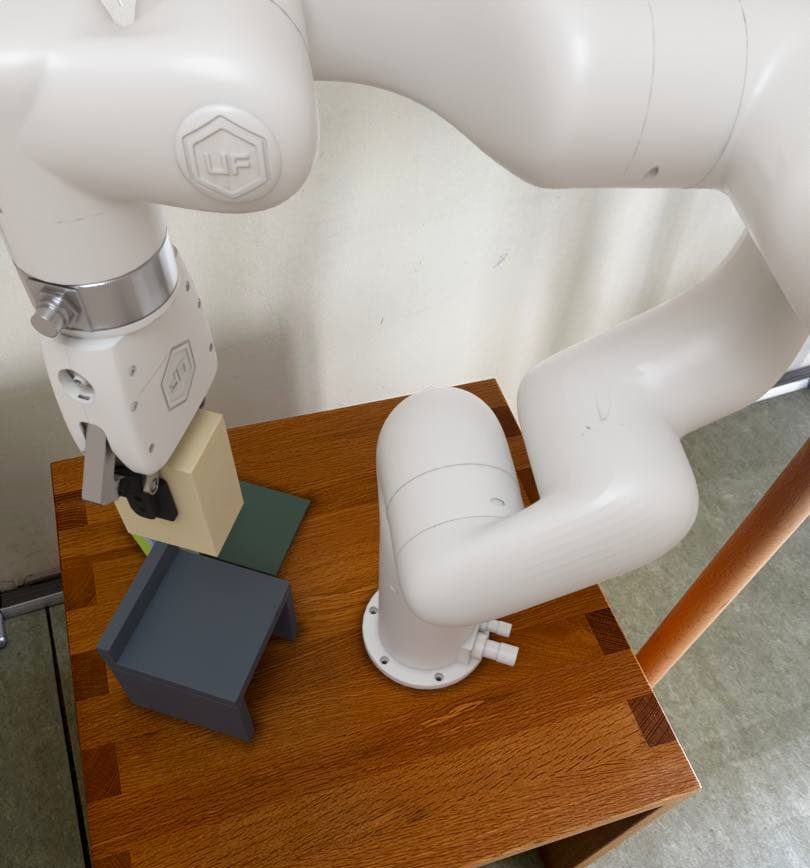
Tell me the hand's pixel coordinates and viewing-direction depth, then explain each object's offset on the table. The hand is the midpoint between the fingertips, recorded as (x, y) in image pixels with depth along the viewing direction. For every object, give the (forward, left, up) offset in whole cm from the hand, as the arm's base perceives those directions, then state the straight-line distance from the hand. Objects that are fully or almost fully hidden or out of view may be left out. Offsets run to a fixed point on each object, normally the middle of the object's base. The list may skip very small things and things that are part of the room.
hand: (173, 478), depth 57 cm
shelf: (+1, +2, -29) cm, 29 cm away
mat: (+4, -14, -29) cm, 32 cm away
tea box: (0, 0, -5) cm, 5 cm away
